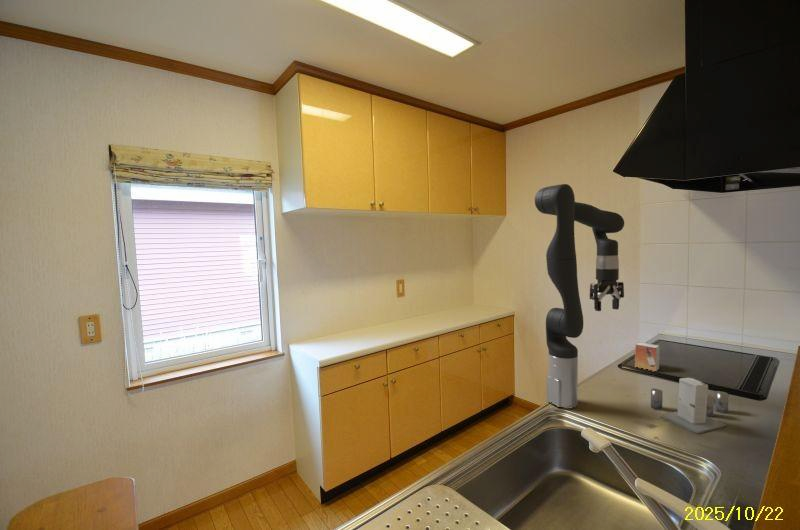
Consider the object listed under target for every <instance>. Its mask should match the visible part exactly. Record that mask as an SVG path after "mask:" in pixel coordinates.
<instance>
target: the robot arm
mask: <svg viewBox="0 0 800 530" xmlns="http://www.w3.org/2000/svg"><path fill="white" fill-rule="evenodd" d="M534 206H535V208H536V209H537V211H538V212H539V213H541V214H544V215H551V216H552V215H553V216H556V228H555V231H554V235H553V237H552V238H551V241H550V243H549V245H548V247H547V249H546V253H545V257H546V271H547V274H548V276H549V279H550V280H551V282H552V284H553V285H554V286H555V288H556V290H557V291H558V293H559V295H560V297H561V301H562V305H563V308H561V307H552V308H551V309H549V310H548V312H547V314H546V317H545V337H546V346H547V348H548V374H547V375H546V377H545V378H546V380H545V381H546V383H545V384H546V389H545V391H546V393H545V394H546V395H545V396H546V399H545V400H546V402H547V403H549V402H550V401H551V400H552V401H551V402H552V403H553V404H555V405H557V406H559V407H569V408H568V409H571V408H570V407H575V408H577V407H578V398H579V397H578V396H579V395H578V390H579V389H578V383H579V382H578V381H579V380H578V375H579V374H578V373H579V372H578V371H579V370H578V368H579V366H578V364H579V360H578V357H579V354H578V353H579V351H578V348H577V347H576V345H574V344H573V343H571V341H569V340H568V338H571V339H577V338H579V337H580V336H581V335H582V333H583V330H584V314H583V308H582V303H581V302H582V301H581V297H580V293H579V292H580V290H579V281H578V264H577V252H576V242H575V222H577V223H580V224H582V225H584V226H587V227H589V228H591V230H592V234H593V236H594V239H595V244H596V259H595V280H597V282H596V283H593V282H592V283H590V285H589V300H593V301H594V305H593V306H594V307H593V308H594V311H596V312H601V311H602V299H603V298H604V297H605V296H606V295H610V296H611V297H612V300H611V301H612V305H611V306H612V309H613V310H619V309H620V308H619V307H620V300H621V298H622V299H624V297H625V289H624V282H621V281H619V279H620V277H619V276H620V275H619V274H620V273H619V272H620V271H619V270H620V269H619V267H620V264H619V263H620V260H619V242H618V240H616V239H610V238H609V237H608V235H607V234H616V233H618V232H621V231H622V230H623V229H624V227H625V220H624V218H623V217H622V215H621V214H619V213H618V212H617V213H616V212H615V211H609V210H604V209H601V208H598V207H596V206H593V205H591V204H589V203H588V204H587V203H584V202H577V201H576V198H575V193H574V190H573V188H572V186H570V185H569V184H567V183H563V184H562V183H561V184H556V185H551V186H546V187H542V188H540V189H539V190H538V191H537V192H536V193H535V197H534ZM551 402H550V403H551ZM550 403H549V404H550ZM576 406H577V407H576Z"/></svg>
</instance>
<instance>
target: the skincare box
mask: <svg viewBox="0 0 800 530" xmlns="http://www.w3.org/2000/svg"><path fill="white" fill-rule="evenodd" d="M678 381H679V383H678V397H677V398H678V399H677V400H678V401H677V411H678V416H680V417H682V418H684V419H685V420H687V421H689V422H691V423H693V424H701V423H706V417H707V416H706V409H707V395H709V394H708V393H709V384H707V383H704V382H703V381H700V380H698V379H695V378H693V377H683V378H682V377H681V378H679V380H678Z"/></svg>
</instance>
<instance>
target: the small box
mask: <svg viewBox="0 0 800 530" xmlns="http://www.w3.org/2000/svg"><path fill="white" fill-rule="evenodd" d="M634 350H635V351H634V353H635V354H634V368H636V367H638V369H641V368H643V369H642V370H646V369H648V370H647V371H650V370H652V371H651V372H654V371H656V372H657V371H658V370H659V369H660V351H661V349H660V344H653V343H652V344H651V343H644V342H640V341H639V342H637V343H636V344H635V349H634Z"/></svg>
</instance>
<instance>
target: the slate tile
mask: <svg viewBox="0 0 800 530" xmlns="http://www.w3.org/2000/svg"><path fill="white" fill-rule="evenodd" d="M659 415H660V417H659V418H661V419H664V420H666V421H668V422H671V423H672V424H674V425H678V426H680V427H682V428H684V429H686V430H689V431H691V432H694V433H695V434H701V433H703V434H704V433H706V432H709V431H713V430H717V428H718V429H721V427H722V428H724V426H727V425H726V423H723V422H720V421H718V420H715V419H713V418H712V417H707V416H706V423H701V424H693V423H691V422H689V421H687V420H685V419H684V418H682V417H680V416H678V410H677V411H676V410H675V411H673V412H668V413H664V414H659Z"/></svg>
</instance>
